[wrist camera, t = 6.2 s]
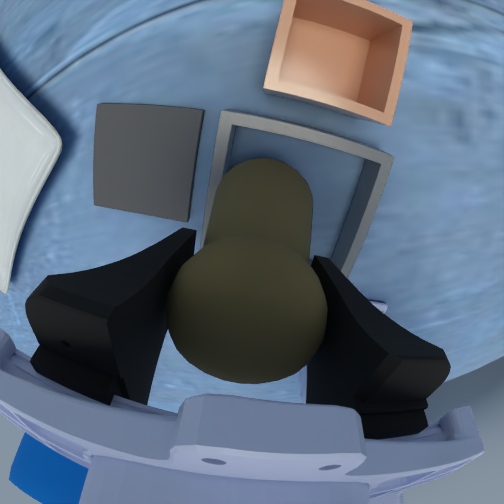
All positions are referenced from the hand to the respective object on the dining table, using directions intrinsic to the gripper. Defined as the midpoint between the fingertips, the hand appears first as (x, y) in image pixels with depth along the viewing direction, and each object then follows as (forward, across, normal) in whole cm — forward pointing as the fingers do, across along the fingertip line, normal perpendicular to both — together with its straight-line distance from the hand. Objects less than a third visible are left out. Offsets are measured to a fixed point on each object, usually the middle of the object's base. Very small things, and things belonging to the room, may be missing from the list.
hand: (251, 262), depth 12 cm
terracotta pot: (+10, -2, -11) cm, 15 cm away
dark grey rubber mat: (+10, +10, -1) cm, 14 cm away
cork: (+6, 0, 0) cm, 6 cm away
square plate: (+11, +35, 0) cm, 36 cm away
